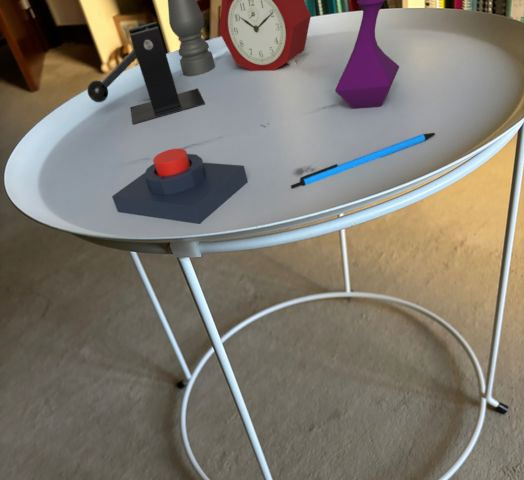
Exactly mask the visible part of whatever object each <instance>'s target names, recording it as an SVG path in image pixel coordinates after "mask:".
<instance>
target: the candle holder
mask: <svg viewBox="0 0 524 480" xmlns="http://www.w3.org/2000/svg"><path fill="white" fill-rule="evenodd" d="M167 9H168V22H169V27H170V29H171V31H172V32H173V33H174V35H175V36H176V37H177V39H178V41H179V42H180V44H179V48H178V55H179V56H180V57H181V58H180V59H179V64H180V67H181V71H182V75H183V76H184V77H196V76H200V75H204V74H206V73H209V72H211V71H212V70H214V69H215V68H216V63H215V60H214V57H213V56H214V55H213V52H212V51H211V50H209V48H210V45H209V43H208V42H207V41H206V40H205V39H204V38H203V37H202V36H203V32H202V31H203V28H204V23H205V21H204V15H203V12H202V11H201V9H200V6H199V4H198V1H197V0H167Z"/></svg>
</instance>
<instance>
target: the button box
mask: <svg viewBox="0 0 524 480" xmlns="http://www.w3.org/2000/svg"><path fill="white" fill-rule="evenodd" d="M187 156H188V159H189V163H190V167H189V168H187V169H186V170H185V171H182V172H180V173H177V174H174V175H169V176H158V174H157V171H156V168H155V165H154V163H153V164H151V165H150V166H149V167H147V168H146V169H145V172H144V173H142V174H141V175H139V176H138V177H136V178H135V179H134V180H132V181H131V182H130V183H128V184H127V185H126V186H124V187H123V188H121V189H120V190H118V191H117V192H116V193H115V194H114V193H113V195H112V196H111V198H112V200H113V203H114V206H115V208H116V210H117V212H118V213H122V214H129V215H136V216H140V217H141V216H142V217H148V218H155V219H162V220H167V221H168V220H170V221H175V222H181V223H182V222H183V223H189V224H196V225H200V224H201V223H203V222H204V221H205V220H207V218H209V216H211V215H212V214H213V213H214V212H216V211H217V210H218V208H220V207H221V206H223V204H225V203H226V202H227V201H228V200H229V199H231V197H233V196H234V195H235V194H236V193H238V191H240V190H241V189H242V188H243V187H244V186H245V185H246V184H248V183H249V182H248V177H247V173H246V172H247V171H246V169H245V165H243V164H242V165H241V164H230V163H229V164H228V163H216V162H214V163H213V162H204V161H203V158H202V157H201V156H199V155H198V154H195V153H194V154H193V153H187Z"/></svg>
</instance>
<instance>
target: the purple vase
mask: <svg viewBox="0 0 524 480" xmlns="http://www.w3.org/2000/svg"><path fill="white" fill-rule="evenodd" d="M385 1H386V0H357V1H356V4H358V5H360V6H361V9H362V17H361V22H360V26H359V31H358V33H357V36H356V40H355V43H354V47H353V49H352V52H351V54H350V56H349V59H348V61H347V64H346V66H345V68H344V70H343V72H342V74H341V76H340V78H339V80H338V82H337V84H336V87H335V88H334V91H335V92H336V93H337V94H338V95H339V96H340V98H342V100H343V101H344V102H345V103H346V104H347V105H348V106H349V107H351V109H365V108H366V109H367V108H377V107H381V106H383V105H384V102H385V100H386V98H387V96H388V93H389V92H390V89H391V87H392V85H393V83H394V81H395V78H396V76H397V73H398V71H399V69H400V65H399V64H398V63H396V62H395V61H394V60H393V59H392V58H390V56H389V55H387V54H386V53H385V52H384V51H383V50H382V48H381V47H380V46H379V45H378V42H377V39H376V26H377V19H378V16H379V12H380V10H381V8H382V6H383V5H384V2H385Z"/></svg>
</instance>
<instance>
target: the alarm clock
mask: <svg viewBox="0 0 524 480" xmlns="http://www.w3.org/2000/svg"><path fill="white" fill-rule="evenodd" d="M311 17H312V16H311V13H310V11H309V9H308V6H307V5H306V2H305V1H304V0H221V5H220V21H219V30H218V31H219V35H220V36H221V39H222V40H223V42H224V45H225V46H226V47H227V50H228V51H229V53H230V55H231V57H232V59H233V61H234V62H235V64H236V65H237V66H240V67H242V68H244V69H246V70H249V71H251V72H266V71H267V72H269V71H275V70H277V69H278V68H280V67H282V66H284V65H285V64H287V65H288V66H292V65H294V66H295V67H296V68H299V66H298V64H297V63H296V60H295V58H296V57H297V56H298V55H300V54H301V53H303V52H304V51H305V48H306V43H307V38H308V33H309V27H310V23H311Z"/></svg>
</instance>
